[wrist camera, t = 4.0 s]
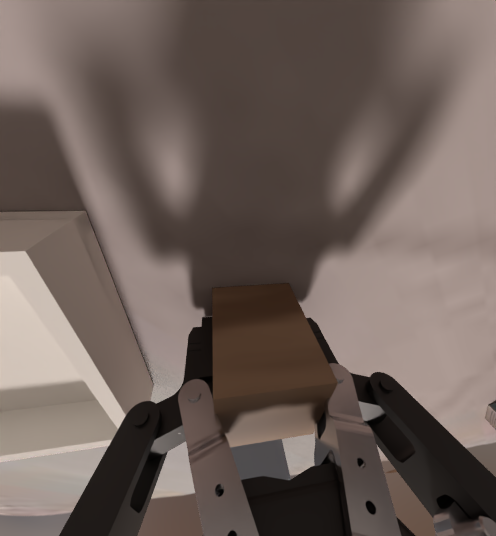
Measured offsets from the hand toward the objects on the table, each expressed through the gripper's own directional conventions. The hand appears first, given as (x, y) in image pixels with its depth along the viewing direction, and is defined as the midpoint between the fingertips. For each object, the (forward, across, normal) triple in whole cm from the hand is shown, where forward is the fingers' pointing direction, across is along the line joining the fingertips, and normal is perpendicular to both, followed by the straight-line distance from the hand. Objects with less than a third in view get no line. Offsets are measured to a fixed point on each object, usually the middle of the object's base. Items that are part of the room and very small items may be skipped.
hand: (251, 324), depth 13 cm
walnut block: (+1, 0, 0) cm, 1 cm away
